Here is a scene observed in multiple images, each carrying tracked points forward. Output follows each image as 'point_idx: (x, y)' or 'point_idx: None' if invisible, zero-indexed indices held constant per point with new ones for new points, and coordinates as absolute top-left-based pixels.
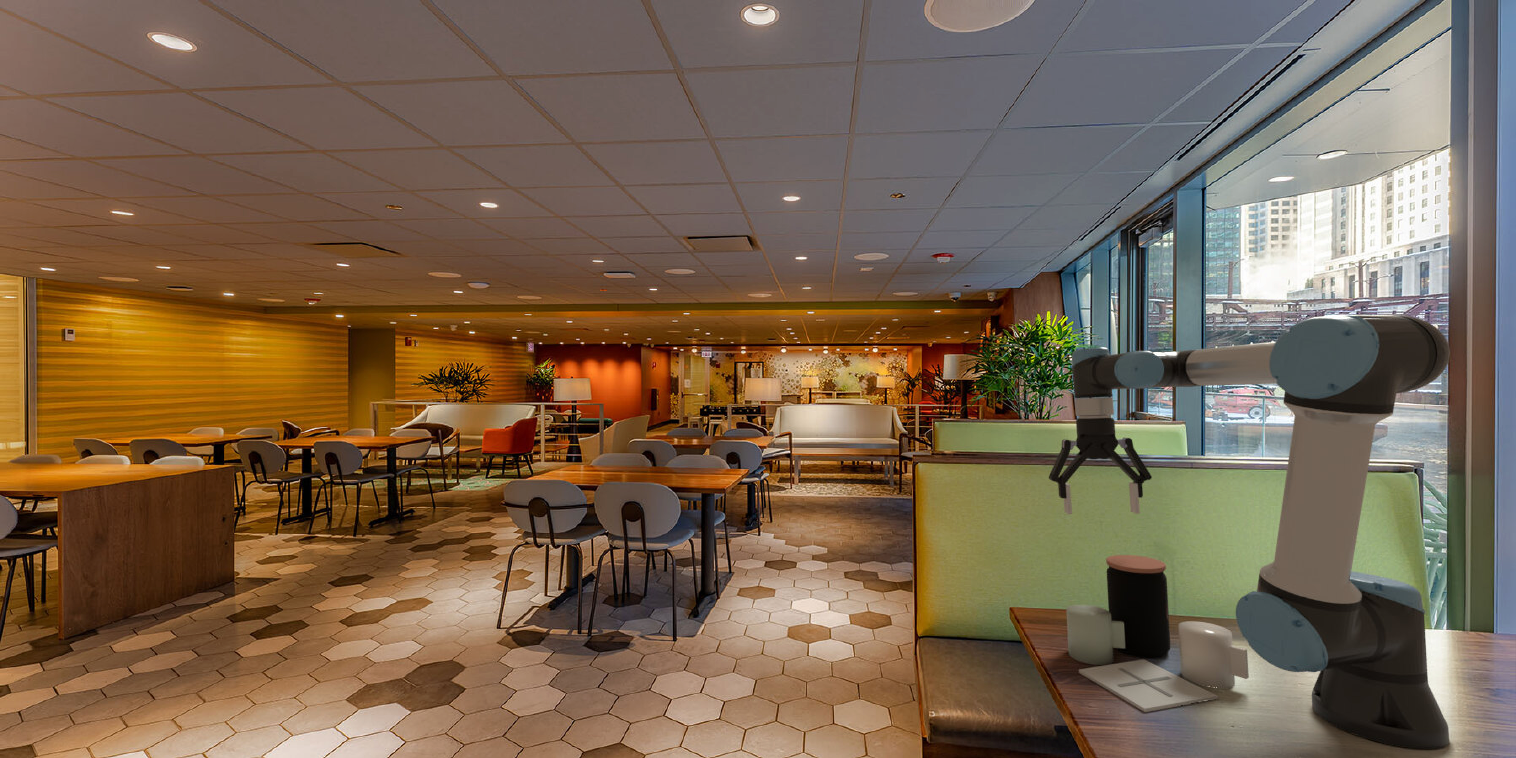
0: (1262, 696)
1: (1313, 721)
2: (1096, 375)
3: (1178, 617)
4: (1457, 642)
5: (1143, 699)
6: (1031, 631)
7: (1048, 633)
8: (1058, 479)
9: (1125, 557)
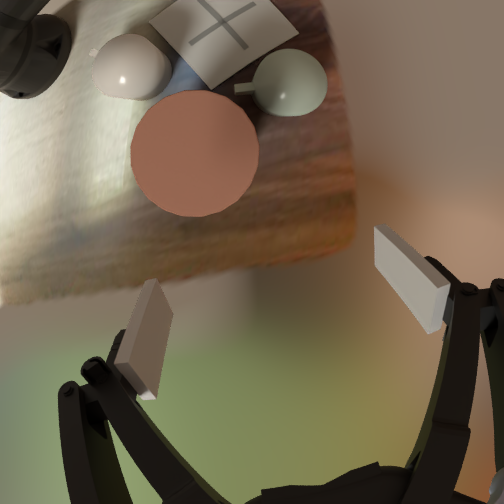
0: None
1: (79, 25)
2: None
3: None
4: None
5: None
6: (351, 158)
7: (329, 156)
8: (483, 298)
9: (211, 187)
